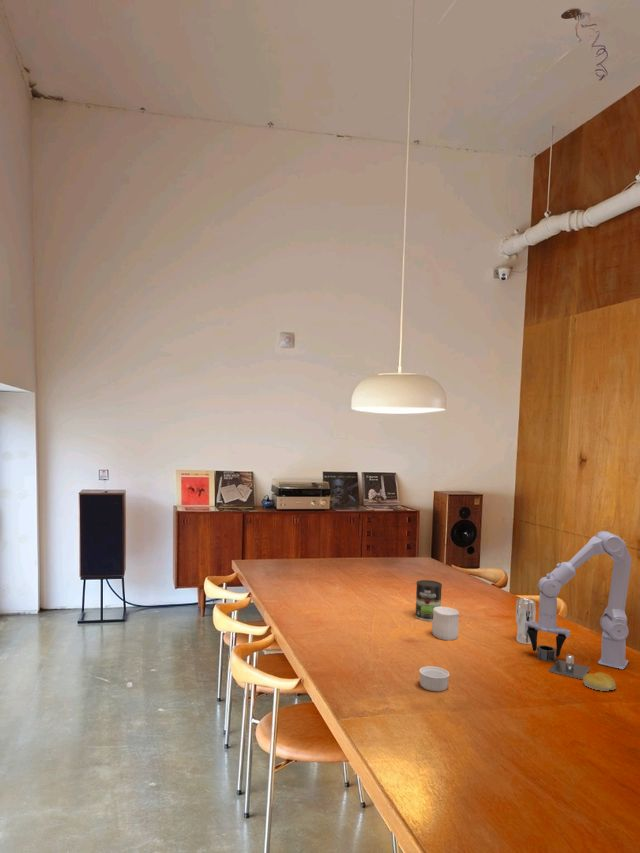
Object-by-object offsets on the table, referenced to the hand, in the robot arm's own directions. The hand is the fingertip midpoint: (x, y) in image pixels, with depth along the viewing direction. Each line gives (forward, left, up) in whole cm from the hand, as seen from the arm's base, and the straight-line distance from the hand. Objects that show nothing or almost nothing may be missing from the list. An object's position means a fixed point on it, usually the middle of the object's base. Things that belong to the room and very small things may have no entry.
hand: (546, 653), depth 205 cm
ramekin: (+46, -20, -2) cm, 51 cm away
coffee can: (-15, -51, -2) cm, 53 cm away
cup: (+2, -36, -2) cm, 36 cm away
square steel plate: (+6, +9, -2) cm, 11 cm away
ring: (0, 0, -2) cm, 2 cm away
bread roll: (+13, +19, -2) cm, 23 cm away
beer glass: (-13, -11, -2) cm, 17 cm away
